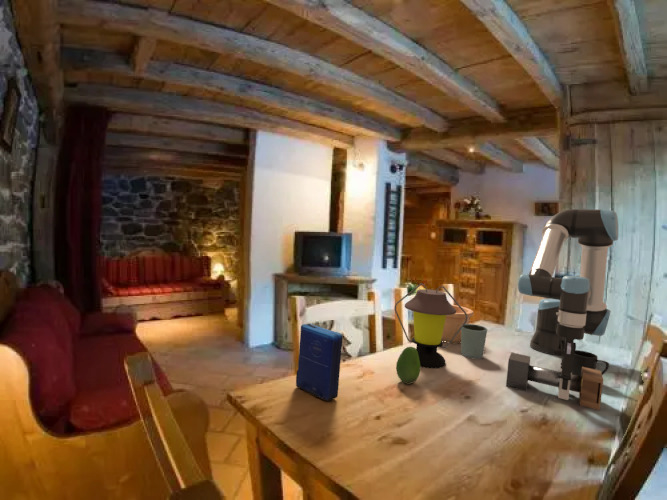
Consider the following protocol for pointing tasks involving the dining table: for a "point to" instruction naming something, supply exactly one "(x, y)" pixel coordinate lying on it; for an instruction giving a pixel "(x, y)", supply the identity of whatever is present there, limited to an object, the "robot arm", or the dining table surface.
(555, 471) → the dining table surface
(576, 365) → the mug
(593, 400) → the socket
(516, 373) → the sleeve
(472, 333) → the grey green textured cup
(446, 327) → the pottery
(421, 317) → the lantern
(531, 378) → the tube
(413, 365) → the fruit
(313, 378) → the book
